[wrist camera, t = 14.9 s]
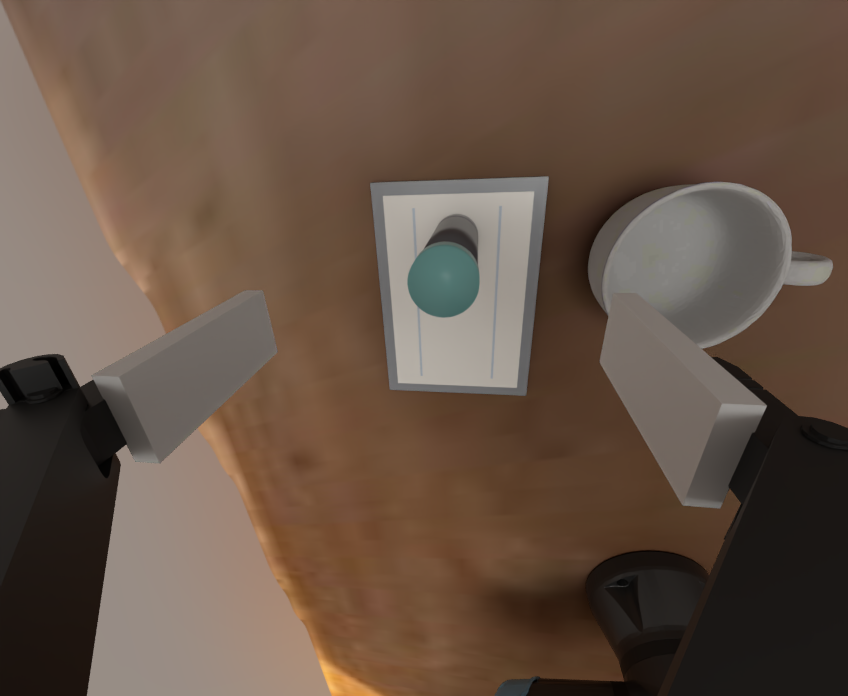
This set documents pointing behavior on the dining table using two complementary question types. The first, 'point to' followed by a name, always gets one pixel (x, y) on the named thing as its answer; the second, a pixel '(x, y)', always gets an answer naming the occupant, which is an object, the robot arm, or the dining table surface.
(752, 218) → the teacup
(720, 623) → the robot arm
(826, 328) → the dining table surface
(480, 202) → the small whiteboard
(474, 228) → the marker
